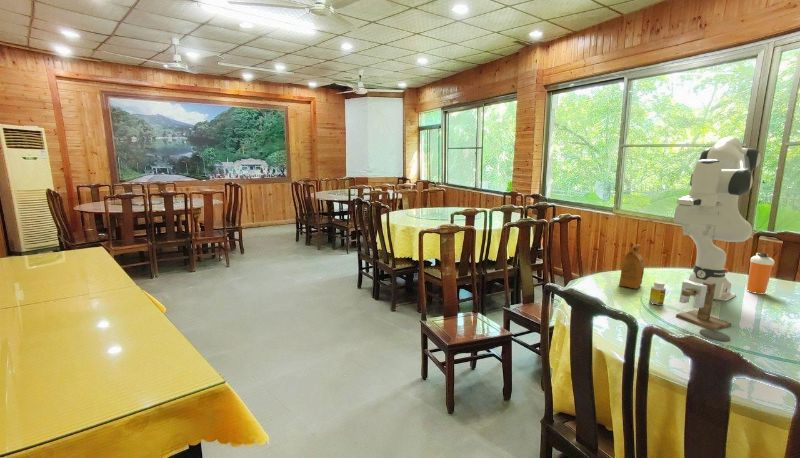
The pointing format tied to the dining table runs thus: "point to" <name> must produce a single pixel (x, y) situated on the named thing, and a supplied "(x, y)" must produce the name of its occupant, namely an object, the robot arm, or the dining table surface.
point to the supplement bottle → (657, 293)
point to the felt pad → (714, 335)
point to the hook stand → (703, 310)
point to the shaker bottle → (759, 272)
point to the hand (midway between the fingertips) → (695, 235)
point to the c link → (700, 293)
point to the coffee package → (632, 269)
